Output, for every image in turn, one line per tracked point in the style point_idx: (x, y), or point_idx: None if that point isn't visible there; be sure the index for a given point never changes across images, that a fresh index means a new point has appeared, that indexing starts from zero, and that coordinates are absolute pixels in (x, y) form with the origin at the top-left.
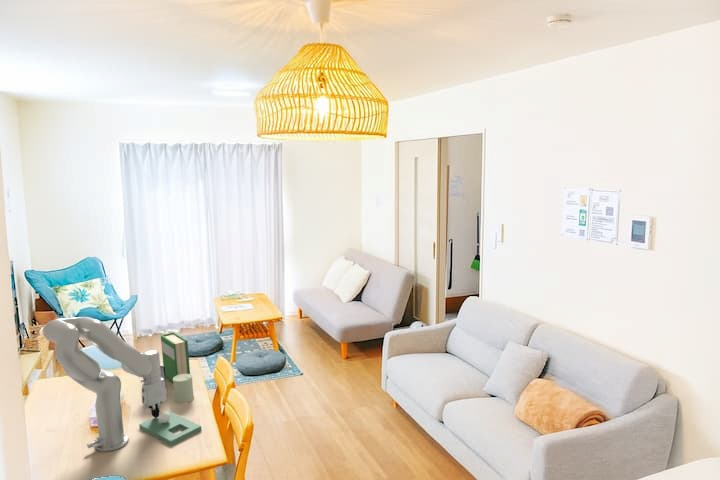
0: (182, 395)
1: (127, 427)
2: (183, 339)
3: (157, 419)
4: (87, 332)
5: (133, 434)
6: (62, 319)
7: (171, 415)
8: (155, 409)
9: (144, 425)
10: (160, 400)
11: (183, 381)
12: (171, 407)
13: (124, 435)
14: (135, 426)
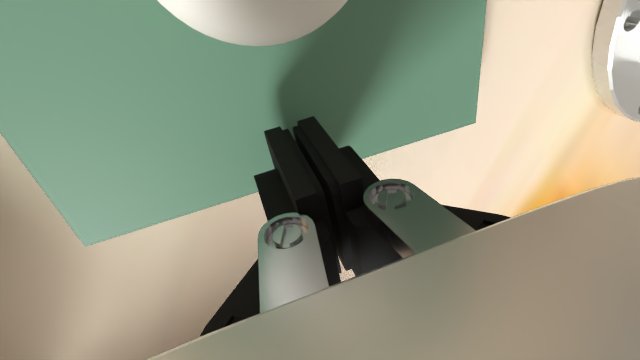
0: None
1: (484, 185)
2: None
3: (290, 105)
4: None
5: (536, 26)
6: None
7: (68, 96)
8: (356, 192)
9: (462, 56)
10: (320, 331)
11: None
12: (48, 342)
13: (619, 30)
14: (444, 166)
